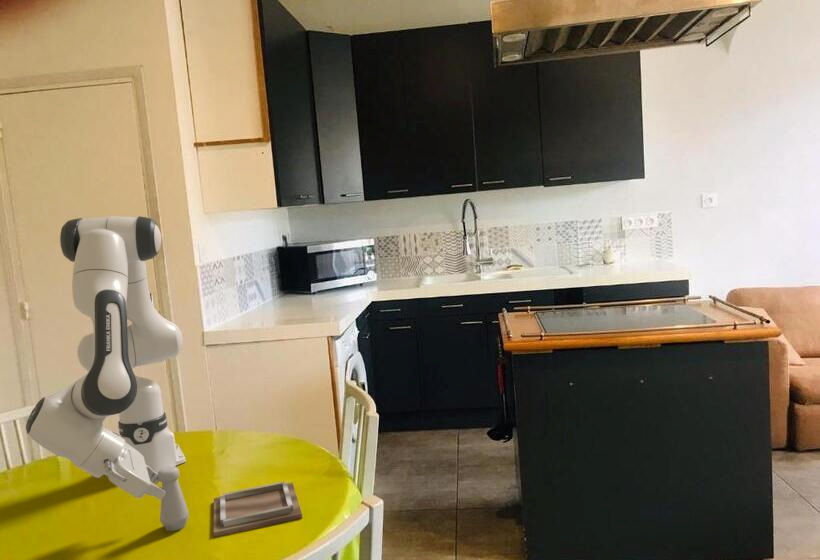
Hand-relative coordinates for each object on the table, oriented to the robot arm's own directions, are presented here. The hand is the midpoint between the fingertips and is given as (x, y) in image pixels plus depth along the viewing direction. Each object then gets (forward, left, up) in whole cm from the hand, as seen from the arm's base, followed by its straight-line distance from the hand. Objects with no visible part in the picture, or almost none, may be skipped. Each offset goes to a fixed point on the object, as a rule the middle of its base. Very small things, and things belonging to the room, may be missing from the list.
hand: (161, 487), depth 142 cm
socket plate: (0, +19, -9) cm, 21 cm away
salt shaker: (0, +2, -9) cm, 10 cm away
